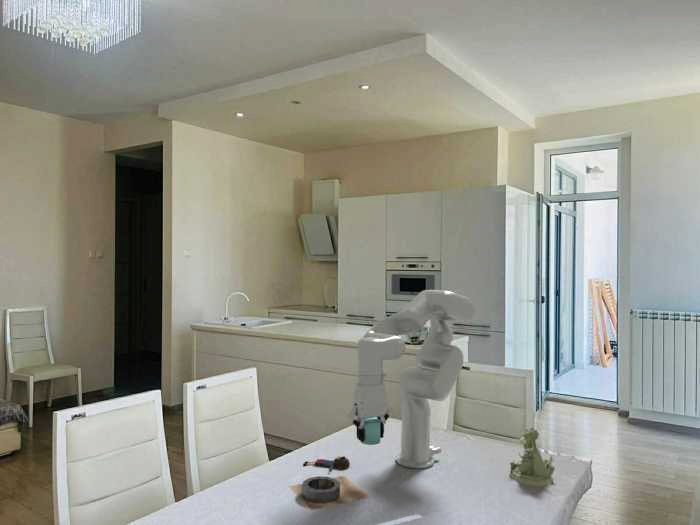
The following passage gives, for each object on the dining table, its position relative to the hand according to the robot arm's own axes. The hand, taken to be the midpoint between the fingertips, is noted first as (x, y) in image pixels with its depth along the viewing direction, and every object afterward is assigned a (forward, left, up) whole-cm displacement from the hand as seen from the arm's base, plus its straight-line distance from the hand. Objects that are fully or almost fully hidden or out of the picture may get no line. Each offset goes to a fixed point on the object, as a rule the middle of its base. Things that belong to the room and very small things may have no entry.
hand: (370, 437), depth 160 cm
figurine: (-48, +19, -14) cm, 53 cm away
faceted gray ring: (+18, +3, -12) cm, 22 cm away
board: (+15, +2, -13) cm, 20 cm away
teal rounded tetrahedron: (0, 0, -1) cm, 1 cm away
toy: (+7, -16, -14) cm, 22 cm away
